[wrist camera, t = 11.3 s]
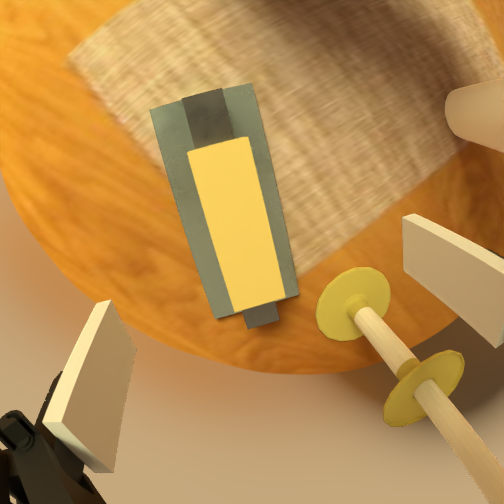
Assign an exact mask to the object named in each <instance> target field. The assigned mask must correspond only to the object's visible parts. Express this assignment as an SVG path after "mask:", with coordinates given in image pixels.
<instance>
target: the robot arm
mask: <svg viewBox="0 0 504 504" xmlns="http://www.w3.org/2000/svg"><path fill="white" fill-rule="evenodd" d="M402 231H403V271H405V272H406V273H407V274H408V275H410V276H411V277H412V278H414V279H415V280H416V281H417V282H419V283H420V284H421V285H422V286H424V287H425V288H426V289H427V290H429V291H430V292H431V293H432V294H434V295H435V296H436V297H437V298H438V299H440V300H441V301H442V302H443V303H444V304H446V305H447V306H448V307H449V308H450V309H452V310H453V311H454V312H455V313H456V314H458V315H459V316H460V317H461V318H462V319H463V320H465V321H466V322H467V323H468V324H469V325H470V326H471V327H473V328H474V329H475V330H476V331H477V332H478V333H479V334H481V335H482V336H483V337H484V338H485V339H486V340H487V341H488V342H489V343H491V344H492V345H493V346H494V347H495V348H497V347H498V346H500V345H501V344H502V343H504V257H502V256H499V254H497V253H495V252H493V251H492V250H489V249H486V248H483V247H481V246H479V245H477V244H475V243H473V242H471V241H470V240H468V239H466V238H464V237H462V236H460V235H458V234H456V233H454V232H452V231H450V230H448V229H446V228H444V227H442V226H440V225H438V224H436V223H434V222H432V221H430V220H428V219H425V218H423V217H421V216H419V215H417V214H415V213H414V214H411V215H407V216H404V217H402ZM136 351H137V348H136V347H135V345H134V343H133V341H132V339H131V338H130V336H129V334H128V332H127V330H126V328H125V326H124V324H123V322H122V320H121V318H120V316H119V314H118V312H117V310H116V308H115V306H114V304H113V302H112V300H108V301H104V302H100V303H97V304H96V305H95V307H94V309H93V311H92V313H91V315H90V317H89V319H88V321H87V323H86V325H85V327H84V329H83V331H82V333H81V335H80V337H79V339H78V341H77V343H76V345H75V347H74V349H73V351H72V353H71V355H70V357H69V360H68V362H67V364H66V366H65V368H64V371H61V372H60V373H59V374H58V376H57V377H56V378H55V379H54V380H53V382H52V385H51V387H50V389H49V393H48V394H47V396H46V398H45V400H46V401H44V403H43V406H42V408H41V410H40V413H39V415H38V418H37V420H36V423H35V425H33V424H32V423H31V422H30V421H29V420H28V419H27V418H26V417H25V416H24V414H23V413H22V412H21V411H18V410H13V411H10V412H8V413H6V414H5V415H4V416H3V417H2V418H1V419H0V441H1V442H2V443H3V444H4V445H5V446H6V447H7V448H8V449H6V450H1V449H0V504H13V503H11V502H10V496H9V495H11V496H12V497H14V498H15V499H16V502H17V504H106V502H105V501H104V500H103V498H102V497H101V495H100V494H99V493H98V491H97V489H96V488H95V487H94V485H93V484H92V482H91V481H90V479H89V477H88V476H87V475H86V474H84V473H83V469H84V464H85V465H86V466H88V467H89V468H90V469H91V470H92V471H93V472H95V473H114V467H115V460H116V453H117V446H118V441H119V435H120V428H121V423H122V417H123V412H124V407H125V402H126V396H127V392H128V387H129V382H130V377H131V373H132V368H133V364H134V359H135V355H136Z"/></svg>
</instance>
